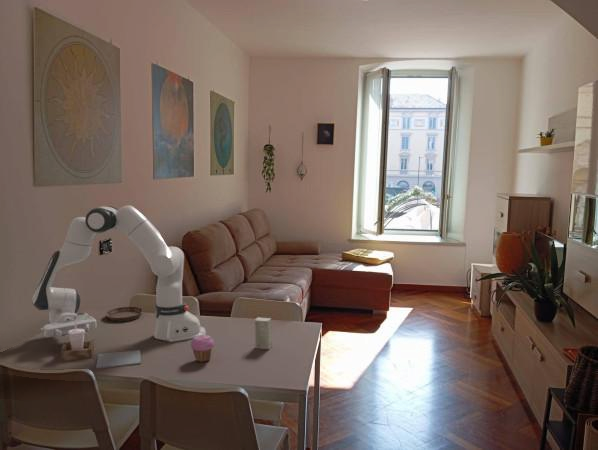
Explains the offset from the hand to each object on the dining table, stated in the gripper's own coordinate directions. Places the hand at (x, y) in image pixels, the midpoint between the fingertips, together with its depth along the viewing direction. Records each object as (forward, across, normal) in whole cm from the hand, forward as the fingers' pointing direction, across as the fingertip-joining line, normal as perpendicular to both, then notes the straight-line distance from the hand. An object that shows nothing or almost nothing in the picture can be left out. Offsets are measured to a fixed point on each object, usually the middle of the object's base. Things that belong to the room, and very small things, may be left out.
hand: (75, 332), depth 212 cm
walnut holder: (+3, 0, +8) cm, 9 cm away
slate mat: (+19, +11, +8) cm, 23 cm away
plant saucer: (-36, +32, +9) cm, 49 cm away
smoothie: (+3, 0, +9) cm, 9 cm away
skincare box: (+41, +64, +9) cm, 76 cm away
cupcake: (+39, +37, +9) cm, 54 cm away
